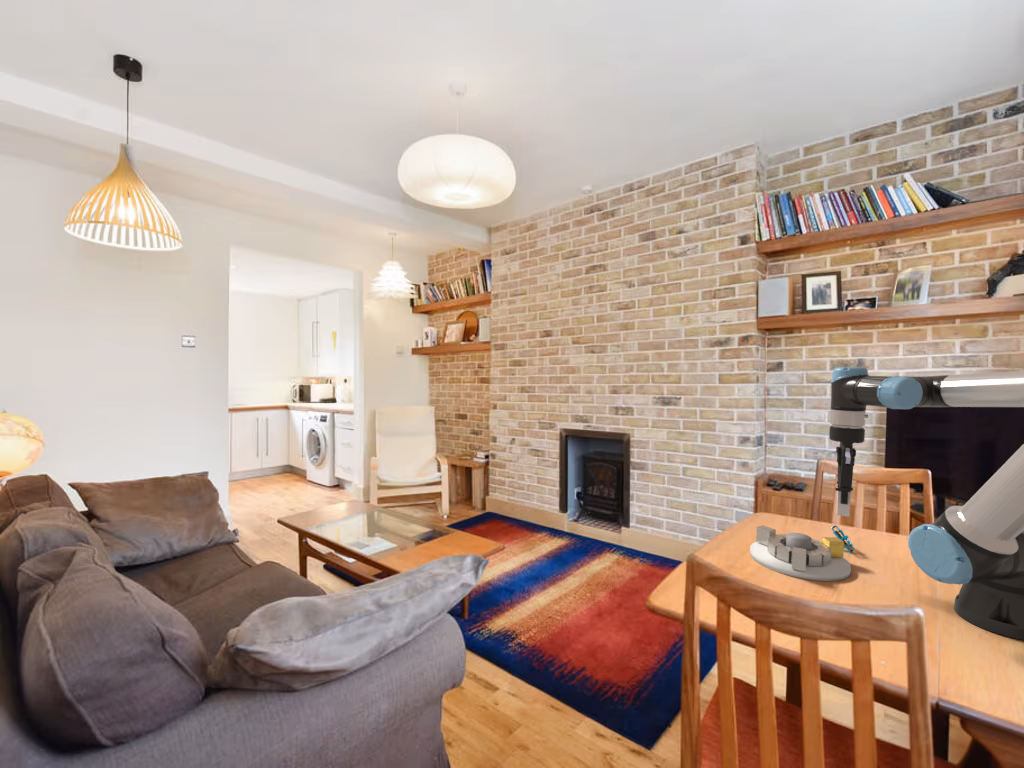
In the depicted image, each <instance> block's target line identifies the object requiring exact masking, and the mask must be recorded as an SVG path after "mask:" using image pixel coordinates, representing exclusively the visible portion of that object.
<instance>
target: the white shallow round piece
mask: <svg viewBox="0 0 1024 768" xmlns="http://www.w3.org/2000/svg"><path fill="white" fill-rule="evenodd" d="M786 534H787V536H786V546H787V547H790V548H793V547H796V548H802V549H806V551H811V543H812V539H813V538H812V537H811V536H809V535H807V534H804V533H799V532H788V533H786ZM749 549H750V550H749V551H750V553H749V554H750V556H751V558H752V559H753V560H754V562H757V564H759V565H761V566H763V567H765V568H767V569H770V570H772V571H774V572H776V573H778V574H782V575H785V576H790V577H793V578H797V579H803V580H808V581H816V582H817V581H818V582H819V581H820V582H835V581H840V580H845V579H847V578H849V577H850V575H851V573H852V565H851V563H850V562H849V561H848V560H847V559H846V558H845V557H844V556H843V557H831V563H830V564H828V565H826V566H822V565H821V566H808V565H806V572H805V571H800V570H795V569H792V563H791V562H786V561H784V560H781V559H778V558H777V557H774V556H773V555H772V554H770V553H769V552H768V546H767V545H764V544H761V543H758V542H756V541H755V542H753V543H752V544H750V547H749Z"/></svg>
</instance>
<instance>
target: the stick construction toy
mask: <svg viewBox="0 0 1024 768" xmlns="http://www.w3.org/2000/svg"><path fill="white" fill-rule="evenodd" d="M830 528H831V529H830V530H832V534H834V536H835V537H837V538H839V539H840V540H842V541H844V548H845V549H846V550H847V552H848V553H849V554H851V553H852V552H853V551H855V548H854V547H853V546H854V545H853V543H852V542H851V541H850V540H849V536H848V535H845V532H843V530H842V529H840V528H839V527H838V526H837V524H836V525H833V526H832V527H830ZM835 528H836V529H837V530H835ZM847 544H848V545H849V547H850V548H851V549H849V548H848V546H847Z"/></svg>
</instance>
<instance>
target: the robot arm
mask: <svg viewBox="0 0 1024 768" xmlns="http://www.w3.org/2000/svg"><path fill="white" fill-rule="evenodd" d="M830 387H831V389H830V390H831V391H830V395H831V397H830V409H829V424H831V426H829V433H828V434H829V437H828V439H830V441H833V442H838V443H839V446H836V451H835V452H836V463H837V481H836V484H837V487H835V490H834V491H837V494H836V495H837V496H836V515H837V516H843V517H847V518H850V512H851V495H852V494H851V493H852V491H853V490H854V488H853V477H854V475H853V474H854V466H855V461H856V458H855V457H856V456H857V449H856V448H855V447H853V446H854V445H853V444H862V443H864V442H865V436H866V435H865V434H866V433H865V432H866V429H865V428H864V427H865V425H866V419H868V418H869V415H868V414H866V411H867V406H869V407H878V408H887V409H890V410H911V409H913V408H959V407H960V408H964V407H965V408H968V407H969V408H1024V370H1015V371H1013V370H1012V371H997V372H995V371H994V372H977V373H964V374H963V373H962V374H949V375H948V374H947V375H946V374H945V375H943V374H941V375H923V376H921V375H920V376H919V375H918V376H914V375H913V376H911V375H909V376H908V375H907V376H906V375H905V376H904V375H901V376H900V375H899V376H897V375H896V376H895V375H893V376H891V375H889V376H888V375H870V374H869V369H868V368H866V367H856V366H855V367H852V366H851V367H849V366H844V367H842V366H839V367H835V368H834V369H833V371H832V376H831V382H830ZM907 539H908V541H907V547H908V548H909V550H910V555H911V558H912V559H913V561H914V563H915V565H916V566H917V567H918V568H919V569H920V570H921V572H923V573H924V574H926V575H927V576H928V577H930V578H931V579H933V580H935V581H937V582H939V583H943V584H946V585H947V584H949V585H961V588H960V589H959V593H958V594H956V596H955V598H954V606H953V608H954V609H953V610H954V611H955V613H956V614H957V615H958V616H960V618H962V619H963V620H965V621H967V622H969V623H970V624H973V625H975V626H977V627H979V628H981V629H983V630H986V631H988V632H989V631H990V632H992V633H995V634H999V635H1002V636H1005V637H1008V638H1013V639H1017V640H1022V641H1024V443H1023V444H1022V445H1021V446H1019V448H1018V449H1017V450H1016V451H1015V452H1014V453H1013V454H1012V455H1011V456H1010V457H1009V458H1008V459H1007V460H1006V461H1005V463H1003V464H1002V466H1001V467H999V468H998V469H997V470H996V472H994V473H993V475H992V476H991V477H990V478H989V479H988V480H987V481H986V482H984V484H983V485H982V486H981V487H980V488H979V489H978V490H977V491H976V492H975V493H974V494H973V495H972V496H971V497H970V499H969V500H967V502H965V504H964V505H952V506H949V507H947V509H945V511H943V512H942V513H941V514H940V516H939V517H938V518H937V519H936V520H935V521H934V522H933V523H923V524H921V525H919V526H917V527H914V528H913V529H912V530H911V531H910V533H909V534H908V538H907Z"/></svg>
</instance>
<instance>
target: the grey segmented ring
mask: <svg viewBox="0 0 1024 768" xmlns="http://www.w3.org/2000/svg"><path fill="white" fill-rule="evenodd" d="M786 536H787V533H785V534H784V533H783V534H782V533H780V534H779V533H778V534H777V529H775V528H772V527H769V526H765V525H758V526H756V539H755V540H756V541H755V542H758V543H761V544H764V545H767V546H768V552H769V553H770V554H772V555H773V556H774V557H777V558H778V559H781V560H784V561H786V562H791V563H792V569H795V570H800V571H805V572H806V565H808V566H821V565H822V566H826V565H828V564H830V563H831V557H843V558H844V553H845V549H844V548H845V547H844V541H842V540H840V539H839V538H837V537H836V536H835V537H834V536H833V537H830V536H829V537H827V536H826V537H823V536H822V538H821V540H822V541H820V540H816V539H814V538H812V543H811V551H806V549H802V548H796V547H793V548H790V547H787V546H786Z"/></svg>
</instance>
